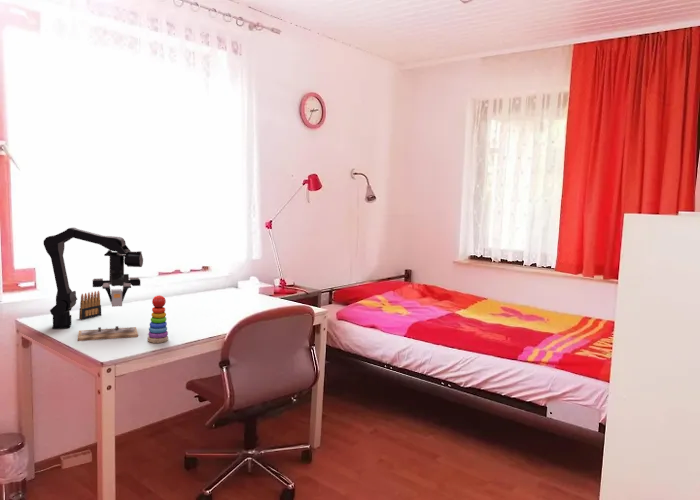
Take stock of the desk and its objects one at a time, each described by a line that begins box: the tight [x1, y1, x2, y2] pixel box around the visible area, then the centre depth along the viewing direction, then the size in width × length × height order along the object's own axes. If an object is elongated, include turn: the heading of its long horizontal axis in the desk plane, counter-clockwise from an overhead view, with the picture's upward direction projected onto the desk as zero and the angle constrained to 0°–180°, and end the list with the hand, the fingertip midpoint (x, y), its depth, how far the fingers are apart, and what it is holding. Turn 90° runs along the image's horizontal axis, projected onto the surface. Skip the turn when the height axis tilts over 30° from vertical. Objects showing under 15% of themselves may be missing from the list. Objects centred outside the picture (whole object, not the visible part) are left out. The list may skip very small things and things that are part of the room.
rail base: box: [77, 325, 139, 342], centre depth 214 cm, size 22×12×3 cm, turn 116°
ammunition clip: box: [78, 290, 102, 321], centre depth 240 cm, size 11×2×12 cm, turn 157°
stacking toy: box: [146, 295, 169, 344], centre depth 209 cm, size 8×8×19 cm
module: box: [110, 288, 123, 307], centre depth 224 cm, size 4×7×6 cm, turn 27°
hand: (116, 301), depth 224 cm, fingers closed on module, 4 cm apart
